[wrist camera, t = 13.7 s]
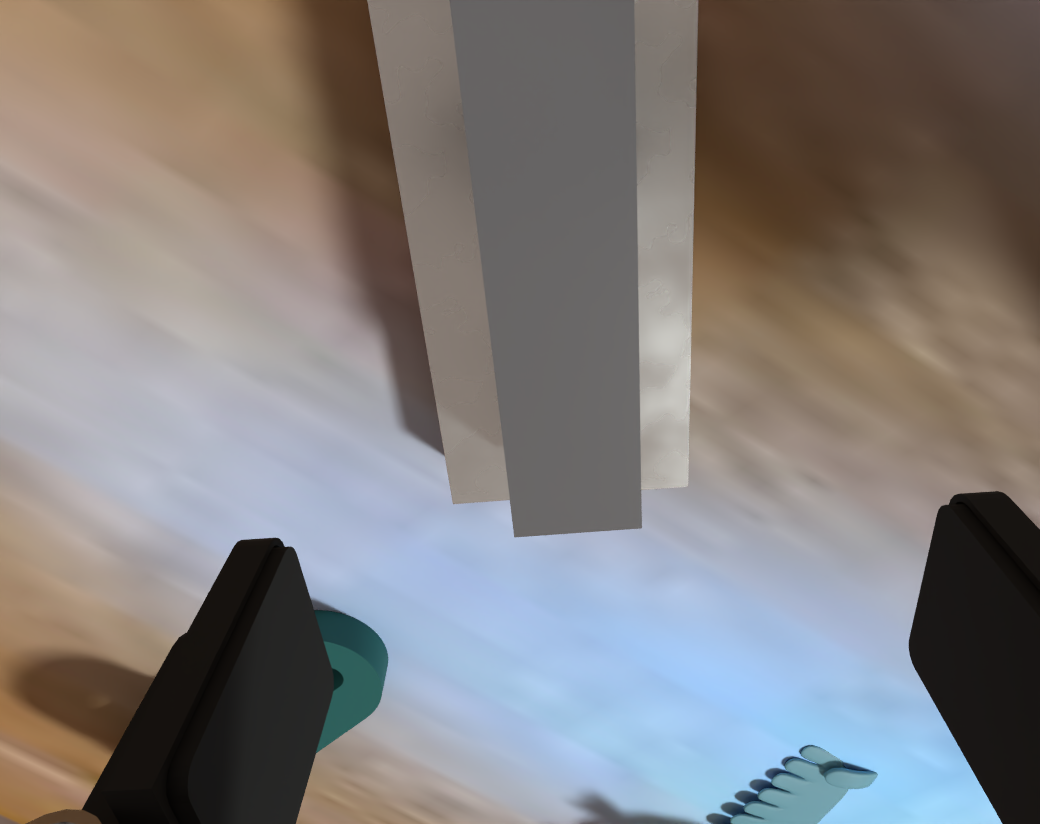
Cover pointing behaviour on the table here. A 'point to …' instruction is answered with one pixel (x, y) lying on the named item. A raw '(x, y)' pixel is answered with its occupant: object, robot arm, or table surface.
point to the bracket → (351, 672)
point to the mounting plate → (455, 246)
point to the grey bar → (558, 250)
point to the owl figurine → (804, 790)
